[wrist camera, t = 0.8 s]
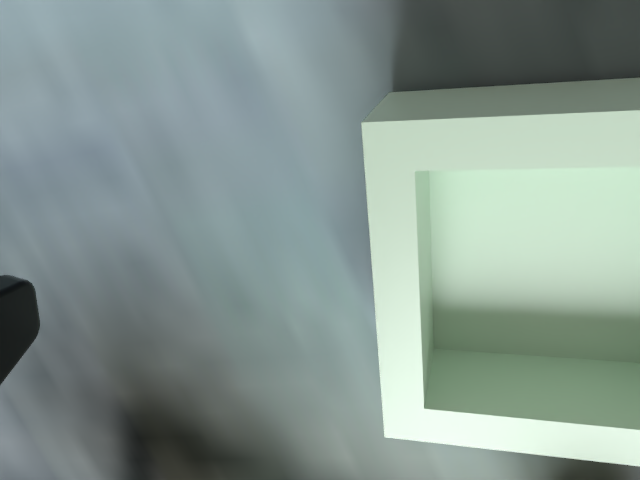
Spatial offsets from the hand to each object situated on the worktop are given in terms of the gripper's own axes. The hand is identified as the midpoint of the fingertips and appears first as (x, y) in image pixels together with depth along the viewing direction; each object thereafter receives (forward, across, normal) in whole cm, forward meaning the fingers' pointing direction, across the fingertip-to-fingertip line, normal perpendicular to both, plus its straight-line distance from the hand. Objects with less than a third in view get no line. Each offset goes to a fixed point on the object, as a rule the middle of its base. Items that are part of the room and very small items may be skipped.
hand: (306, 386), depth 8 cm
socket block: (+11, -5, +2) cm, 12 cm away
